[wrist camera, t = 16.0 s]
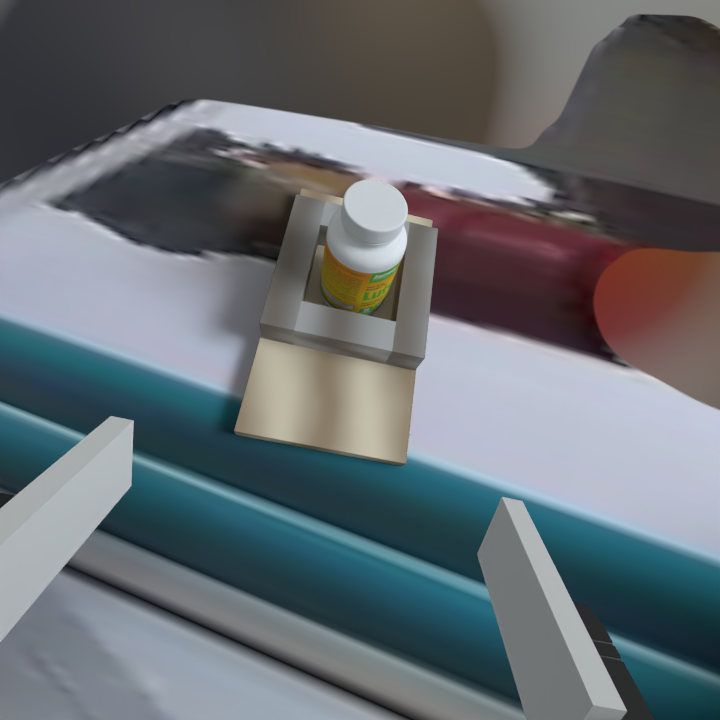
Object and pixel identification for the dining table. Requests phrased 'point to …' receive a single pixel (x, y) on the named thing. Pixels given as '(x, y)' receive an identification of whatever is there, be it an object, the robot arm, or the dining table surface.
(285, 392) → the socket board
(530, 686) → the robot arm
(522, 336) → the dining table surface
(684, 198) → the dining table surface
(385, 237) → the supplement bottle
